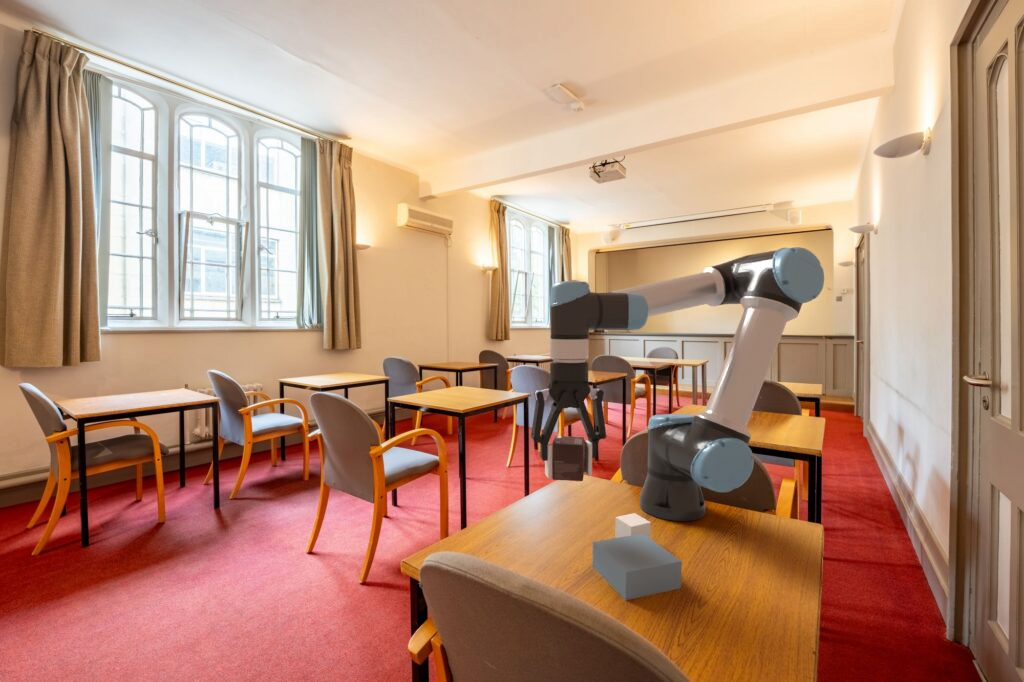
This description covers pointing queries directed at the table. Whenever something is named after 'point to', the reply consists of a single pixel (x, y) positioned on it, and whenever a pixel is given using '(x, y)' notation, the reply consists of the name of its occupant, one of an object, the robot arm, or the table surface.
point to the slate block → (636, 566)
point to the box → (568, 458)
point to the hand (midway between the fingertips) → (568, 474)
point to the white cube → (631, 526)
